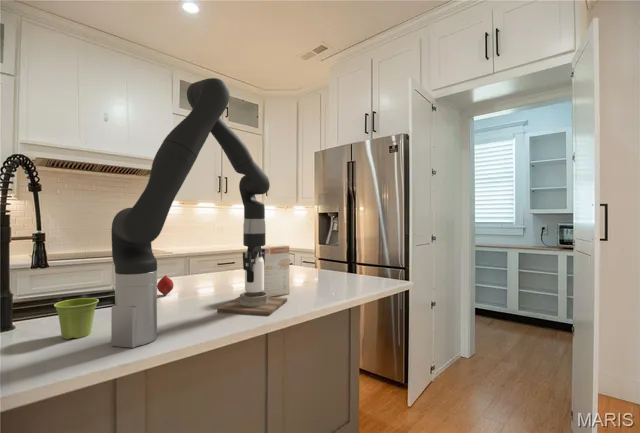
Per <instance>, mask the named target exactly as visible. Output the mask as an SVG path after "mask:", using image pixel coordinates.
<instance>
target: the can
mask: <svg viewBox="0 0 640 433" xmlns="http://www.w3.org/2000/svg"><path fill="white" fill-rule="evenodd" d="M262 257H263V256H261V257H257V260H256V265H254V282H252V283H249V282H247V271H246V270H244V290H245V291H244V292H248V293H259V292H262V291H263V290H264V260H263V258H262ZM254 259H255V258H254ZM254 259H251V262H253V261H254ZM246 265H247V264H246Z"/></svg>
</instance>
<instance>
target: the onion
mask: <svg viewBox="0 0 640 433" xmlns="http://www.w3.org/2000/svg"><path fill="white" fill-rule="evenodd" d="M173 289H174V282H173V279H171V278H170V277H168V276H167V274H164V276H163V277H162V278H161V279H159V281H157V291H158V292H160V293H161V294H162V295H163V296H167V295H169V294H170V292H171V291H172V290H173Z"/></svg>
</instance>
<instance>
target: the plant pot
mask: <svg viewBox="0 0 640 433" xmlns="http://www.w3.org/2000/svg"><path fill="white" fill-rule="evenodd" d="M99 301H100V300H99V299H98V298H94V297H85V298H72V299H66V300H61V301H58V302H56V303H54V304H53V307H54V308H55V309H56V312H57V315H58V320H59V322H58V323H59V327H60V333H61V338H62V339H66V340H71V339H72V338H75V339H79V338H84V337H87V336H88V335H90V334H91V333H92V328H93V323H94V315H95V312H96V311H95V310H96V308H97V305H98V303H99Z"/></svg>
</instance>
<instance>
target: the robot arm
mask: <svg viewBox="0 0 640 433" xmlns="http://www.w3.org/2000/svg"><path fill="white" fill-rule="evenodd" d="M186 99H187V101H188V104H189V105H190V107H191V111H190V112H189V113H188V115H186V117H185V118H183V120H182V121H180V122H179V124H177V125H175V127H174V128H173V129H172V130H171V131H169V133H168V134H167V135H166V136H165V138H164V139H163V141H162V142H161V145H160V147H159V148H158V150H157V152H156V154H155V156H154V159H153V160H152V164H151V167H150V175H149V178H148V182H147V185H146V187H145V189H144V190H143V191H142V193H141V194H140V196H139V198H138V199H137V201H136V202H135V204H134V205H133V206H132V207H126V208H124V209H122V210H120V211H119V212H117V213H116V214H115V216H114V217H113V220H112V222H111V255H112V256H111V258H112V262H113V265H114V305H112V306H111V321H110V322H111V329H110V330H111V331H110V332H111V336H110V338H111V344H110V345H111V347H120V348H129V349H131V348H132V349H133V348H136V347H139V346H143V345H147V344H149V343H152V342H154V341H155V340H156V339H157V337H158V289H157V284H158V261H157V258H156V257H155V255H154V253H153V248H152V242H153V241H155V240H156V239H157V238H158V237H159V236H160V234H161V233H162V230H163V228H164V226H165V223H166V220H167V217H168V215H169V212H170V210H171V208H172V205H173V202H174V201H175V198H176V196H177V195H178V193H179V192H180V189H181V188H182V185H183V184H184V182H185V180H186V179H187V176H188V175H189V173H190V172H191V170H192V168H193V166H194V164H195V163H196V161H197V158H198V156H199V154H200V152H201V150H202V148H203V146H204V145H205V142H206V141H207V139H208V137H209V135H210V133H211V135H212V137H214V139H215V140H216V142H217V143H218V144H219V145H220V147H221V149H222V150H223V152H224V154H225V156H226V157H227V159H228V161H229V162H230V164H231V166H232V168H233V170H234V171H235V172H236V174H240V175H243V176H242V177H241V178H240V180H239V184H238V185H239V186H238V187H239V188H238V189H239V193H240V196H241V202H242V205H243V225H242V226H243V228H242V229H243V230H242V231H243V236H242V237H243V238H242V241H243V242H242V244H243V246H244V247H247V251H244V252H242V264H243V265H242V267H243V271H245V270H246V271H247V282H249V283H252V282H254V265H256V260H257V257H261V256H263V257H262V258H263V260H264V265H265V249H261V246H266V220H265V219H266V212H265V209H266V208H265V207H266V206H265V203H263V202H261V201H258V200H257V197H256V195H257V196H258V195H265V194H267V193H268V191H269V190H270V186H271V185H270V181H269V177H268V176H267V174H266V173H265V171H264V170H263V169H262V168H261V167H260V166H259V164H258V163H256V161H254V159H253V157H252V154H251V153H250V151H249V149H248V147H247V145H246V144H245V142H244V141H243V139H241V138H240V137H239V135H237V133H235V132H234V131H233V129H231V128H230V127H229V126H228V124H227V123H226V122H225V120H223V118H222V115H223V114H224V111H226V109H227V107H228V106H229V102H230V89H229V87H228V85H227V83H226V82H225V81H223V80H222V79H220V78H216V77H210V78H205V79H201V80H198V81H195V82H193V83H191V84H189V86H188V88H187V90H186ZM254 258H255V259H254ZM251 259H254V261H253V262H251ZM246 264H247V265H246Z"/></svg>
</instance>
